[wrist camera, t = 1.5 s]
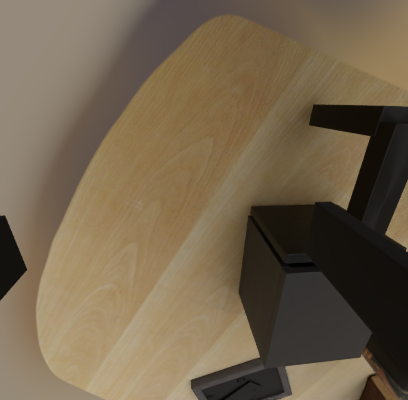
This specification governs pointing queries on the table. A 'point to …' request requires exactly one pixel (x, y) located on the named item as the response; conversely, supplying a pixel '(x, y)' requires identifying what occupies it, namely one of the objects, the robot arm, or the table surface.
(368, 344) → the jar
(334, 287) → the robot arm
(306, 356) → the box
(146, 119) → the table surface
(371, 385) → the bread
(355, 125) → the fryer drawer
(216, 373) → the picture frame
